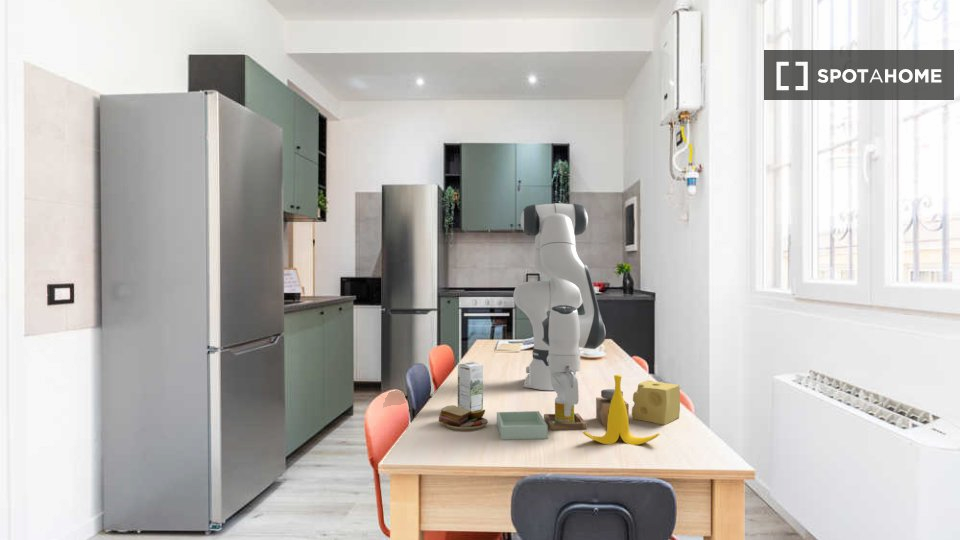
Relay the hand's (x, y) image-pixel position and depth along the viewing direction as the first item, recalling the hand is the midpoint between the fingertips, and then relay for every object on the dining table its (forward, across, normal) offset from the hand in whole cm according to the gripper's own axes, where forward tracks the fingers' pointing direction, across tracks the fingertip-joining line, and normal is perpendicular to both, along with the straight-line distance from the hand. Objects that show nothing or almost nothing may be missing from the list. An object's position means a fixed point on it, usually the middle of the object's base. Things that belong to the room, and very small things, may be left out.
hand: (564, 412), depth 153 cm
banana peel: (+4, -15, -13) cm, 20 cm away
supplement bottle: (+4, 0, 0) cm, 4 cm away
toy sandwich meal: (+4, +2, +28) cm, 29 cm away
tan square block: (+3, +2, -14) cm, 14 cm away
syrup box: (+4, +17, +26) cm, 31 cm away
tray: (+3, -5, +13) cm, 14 cm away
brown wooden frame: (+3, 0, 0) cm, 3 cm away
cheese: (+4, +4, -28) cm, 29 cm away
